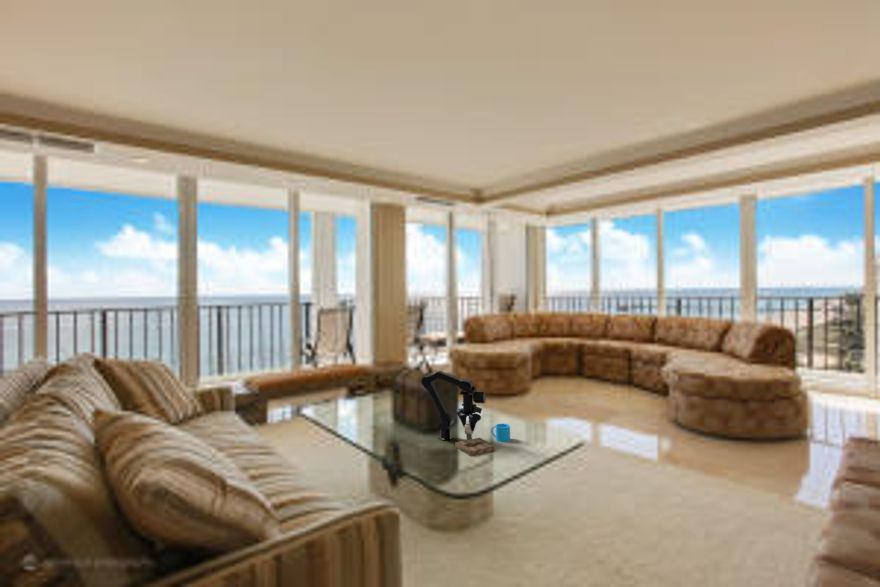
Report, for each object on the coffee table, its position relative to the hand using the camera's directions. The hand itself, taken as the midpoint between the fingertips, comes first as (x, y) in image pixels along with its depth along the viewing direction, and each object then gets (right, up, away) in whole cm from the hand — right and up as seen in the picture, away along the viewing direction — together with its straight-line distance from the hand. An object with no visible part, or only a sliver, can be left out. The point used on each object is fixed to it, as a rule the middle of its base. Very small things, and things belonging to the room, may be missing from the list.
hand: (468, 429), depth 242 cm
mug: (+19, -7, +1) cm, 20 cm away
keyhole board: (+3, -6, -14) cm, 15 cm away
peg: (0, -7, 0) cm, 7 cm away
